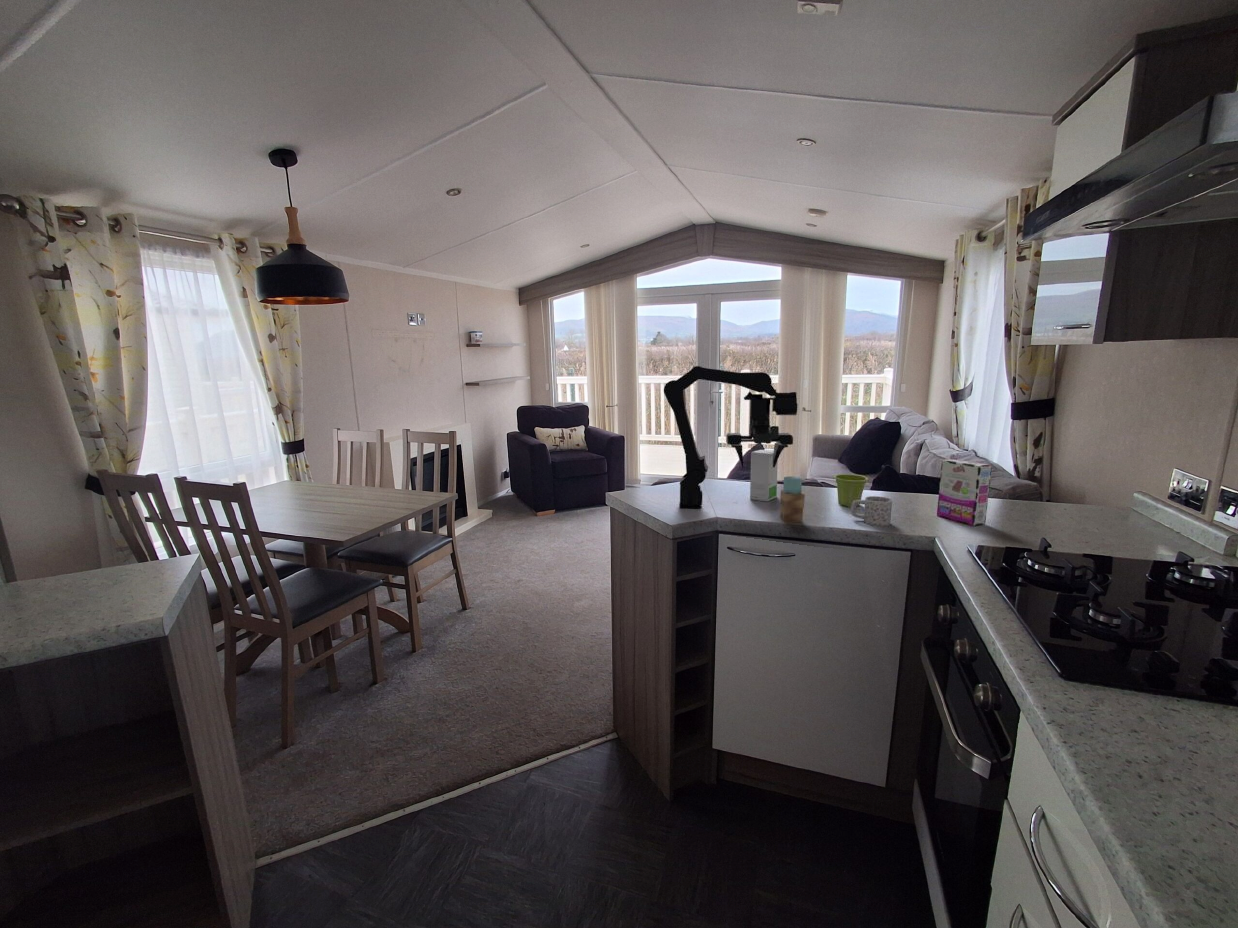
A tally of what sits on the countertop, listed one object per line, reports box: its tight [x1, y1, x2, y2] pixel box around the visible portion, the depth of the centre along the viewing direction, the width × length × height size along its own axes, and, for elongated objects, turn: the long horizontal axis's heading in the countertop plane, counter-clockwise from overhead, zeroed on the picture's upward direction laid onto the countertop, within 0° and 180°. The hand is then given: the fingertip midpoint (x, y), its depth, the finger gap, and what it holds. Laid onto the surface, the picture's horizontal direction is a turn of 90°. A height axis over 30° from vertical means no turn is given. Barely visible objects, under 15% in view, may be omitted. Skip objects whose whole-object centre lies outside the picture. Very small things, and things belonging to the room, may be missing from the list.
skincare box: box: [749, 449, 779, 502], centre depth 172 cm, size 8×7×16 cm
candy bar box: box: [936, 458, 993, 527], centre depth 145 cm, size 11×5×16 cm, turn 21°
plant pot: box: [834, 473, 869, 508], centre depth 163 cm, size 9×9×9 cm
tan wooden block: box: [779, 489, 806, 509], centre depth 149 cm, size 5×5×4 cm
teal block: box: [782, 475, 803, 494], centre depth 148 cm, size 5×5×4 cm
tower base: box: [780, 504, 804, 523], centre depth 149 cm, size 5×5×4 cm
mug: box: [850, 495, 893, 527], centre depth 146 cm, size 10×7×7 cm, turn 59°
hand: (757, 467), depth 159 cm, fingers open, 9 cm apart
